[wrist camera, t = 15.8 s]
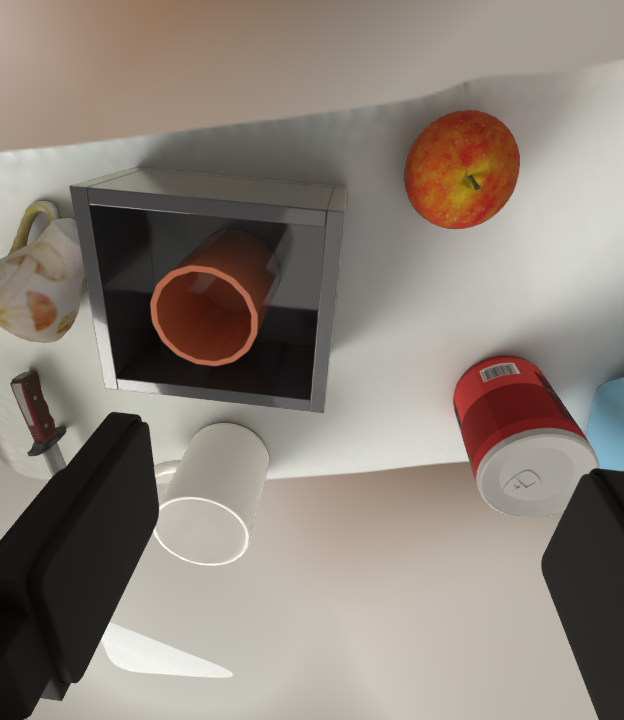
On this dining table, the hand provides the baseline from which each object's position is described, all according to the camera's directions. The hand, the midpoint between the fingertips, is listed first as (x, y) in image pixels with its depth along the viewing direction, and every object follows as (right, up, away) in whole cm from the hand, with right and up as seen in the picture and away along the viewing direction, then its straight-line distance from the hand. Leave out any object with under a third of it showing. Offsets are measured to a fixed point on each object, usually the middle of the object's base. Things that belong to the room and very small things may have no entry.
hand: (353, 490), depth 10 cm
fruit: (+9, +17, +23) cm, 29 cm away
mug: (-22, +11, +29) cm, 38 cm away
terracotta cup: (-7, +10, +27) cm, 29 cm away
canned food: (+16, 0, +31) cm, 35 cm away
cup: (-11, -7, +38) cm, 40 cm away
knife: (-27, -5, +39) cm, 47 cm away
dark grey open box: (-7, +10, +27) cm, 30 cm away
